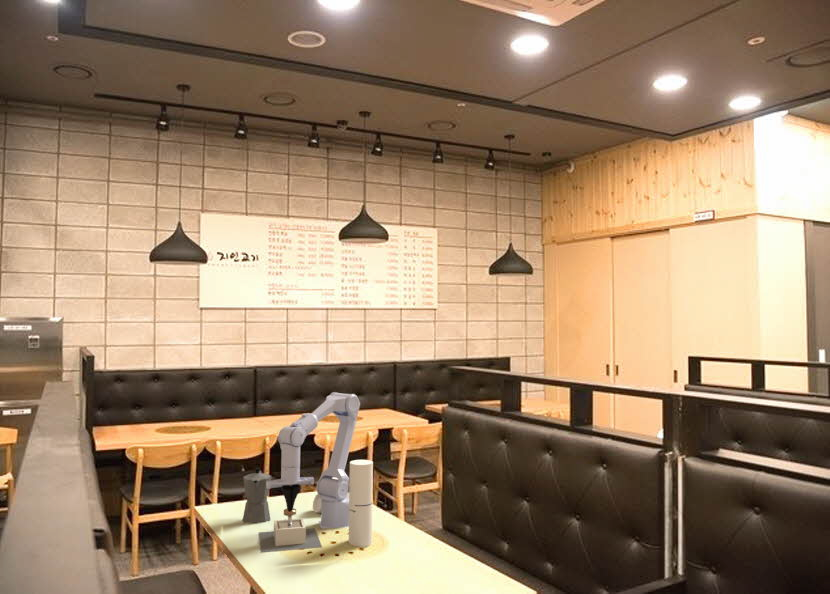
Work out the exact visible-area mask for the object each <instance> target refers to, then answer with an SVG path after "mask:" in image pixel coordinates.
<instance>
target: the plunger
mask: <svg viewBox="0 0 830 594" xmlns="http://www.w3.org/2000/svg"><path fill="white" fill-rule="evenodd" d="M295 515H297V509H296V508H294V507H293V510H288V509H287V508H285V509H283V516H286V517H287V520H288V522H279V523H278V524H279V529H282V528H295V527H301V526H300V522H299V521H293V522H292V519H293V517H294V516H295Z"/></svg>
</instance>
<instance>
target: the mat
mask: <svg viewBox="0 0 830 594" xmlns="http://www.w3.org/2000/svg"><path fill="white" fill-rule="evenodd" d="M258 539H259V540H258V541H259V546H260V547H259V549H260V554H261V553H270V552H272V553H273V552H283V551H295V550H298V551H299V550H307V549H318V548H323V545H322V543H321V540H320V538H319V536H318V533H317V530H316V528H315V527H312V528H306V543H304V544H292V545H280V546H275V540H274V530H273V531H259V532H258Z"/></svg>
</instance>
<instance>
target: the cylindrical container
mask: <svg viewBox="0 0 830 594" xmlns="http://www.w3.org/2000/svg"><path fill="white" fill-rule="evenodd" d="M373 470H374V461H372V460H370V459H369V460H368V459H355V460H351V461H349V485H348V486H349V527H348V544H350V545H351V546H355V547H359V548H360V547H364V548H367V547H366V546H368V547H370V546H372V543H373V488H374V487H373V485H374V484H373V481H374V478H373V477H374V473H373V472H374V471H373ZM369 545H370V546H369Z"/></svg>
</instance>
